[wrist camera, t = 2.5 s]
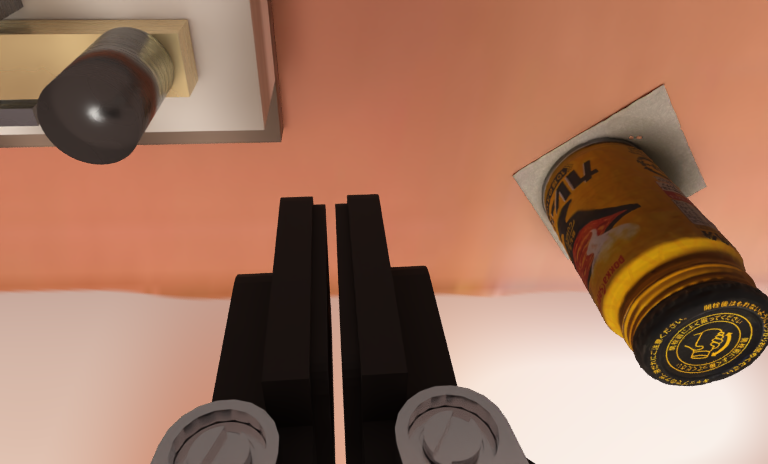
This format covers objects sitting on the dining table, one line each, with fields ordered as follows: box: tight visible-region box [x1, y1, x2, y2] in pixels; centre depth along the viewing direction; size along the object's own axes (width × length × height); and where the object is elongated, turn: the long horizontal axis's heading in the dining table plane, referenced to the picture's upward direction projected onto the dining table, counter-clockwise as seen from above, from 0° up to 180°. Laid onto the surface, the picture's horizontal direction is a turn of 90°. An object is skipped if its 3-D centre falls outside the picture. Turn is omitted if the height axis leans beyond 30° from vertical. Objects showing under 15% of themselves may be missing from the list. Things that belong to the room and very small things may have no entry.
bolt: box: [0, 20, 198, 164], centre depth 16 cm, size 8×2×6 cm, turn 89°
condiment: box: [513, 85, 768, 386], centre depth 26 cm, size 7×8×12 cm
